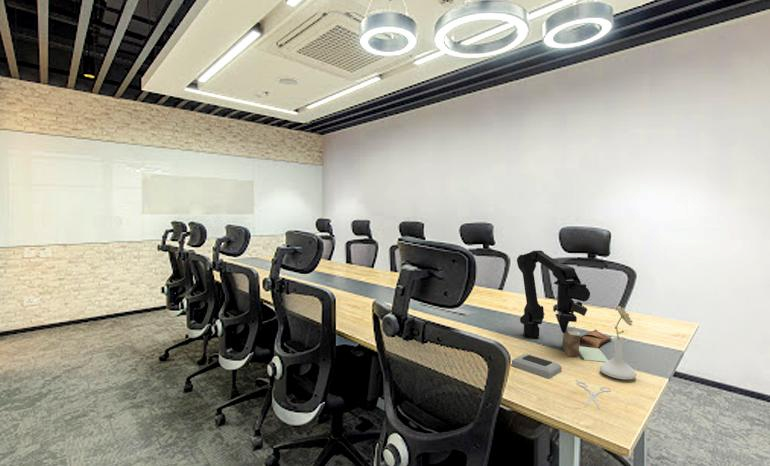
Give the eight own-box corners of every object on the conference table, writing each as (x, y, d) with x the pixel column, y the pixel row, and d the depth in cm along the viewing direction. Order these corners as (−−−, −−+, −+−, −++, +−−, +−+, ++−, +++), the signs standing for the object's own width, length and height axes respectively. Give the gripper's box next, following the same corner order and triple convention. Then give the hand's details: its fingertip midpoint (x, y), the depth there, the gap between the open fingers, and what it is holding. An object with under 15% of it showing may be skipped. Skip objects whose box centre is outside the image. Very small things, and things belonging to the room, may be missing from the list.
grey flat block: (523, 351, 148) (561, 362, 136) (523, 360, 148) (561, 372, 137) (511, 357, 141) (550, 369, 130) (510, 366, 142) (549, 380, 130)
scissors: (610, 386, 125) (613, 412, 107) (610, 388, 125) (613, 415, 107) (575, 378, 130) (572, 402, 112) (575, 381, 130) (572, 405, 112)
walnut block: (567, 356, 152) (569, 332, 151) (562, 346, 163) (564, 324, 163) (578, 357, 150) (580, 333, 150) (571, 347, 162) (574, 325, 161)
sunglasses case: (599, 347, 160) (590, 332, 162) (584, 352, 164) (576, 338, 167) (612, 338, 172) (604, 325, 174) (598, 343, 177) (590, 330, 179)
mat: (581, 359, 148) (581, 357, 148) (573, 346, 164) (573, 344, 164) (609, 362, 146) (609, 360, 146) (598, 348, 161) (598, 347, 161)
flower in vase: (637, 385, 126) (640, 313, 125) (598, 377, 132) (601, 308, 131) (635, 372, 137) (638, 305, 136) (599, 365, 143) (602, 301, 142)
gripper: (591, 302, 145) (590, 341, 146) (580, 293, 163) (579, 328, 164) (560, 300, 148) (559, 338, 149) (553, 291, 166) (552, 325, 167)
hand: (563, 332), depth 157 cm, fingers closed
